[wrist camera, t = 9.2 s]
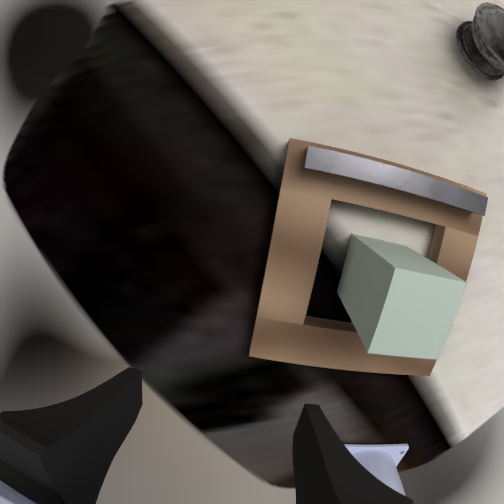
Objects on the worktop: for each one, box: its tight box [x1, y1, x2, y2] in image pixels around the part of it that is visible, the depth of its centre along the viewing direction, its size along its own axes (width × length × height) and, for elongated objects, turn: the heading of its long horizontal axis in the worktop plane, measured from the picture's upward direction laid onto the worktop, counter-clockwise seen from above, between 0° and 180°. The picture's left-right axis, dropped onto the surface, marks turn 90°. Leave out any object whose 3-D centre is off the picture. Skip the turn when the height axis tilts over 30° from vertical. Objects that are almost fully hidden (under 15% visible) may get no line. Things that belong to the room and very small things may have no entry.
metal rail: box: [302, 146, 488, 216], centre depth 17 cm, size 1×12×2 cm, turn 80°
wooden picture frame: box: [249, 138, 486, 376], centre depth 19 cm, size 14×14×2 cm
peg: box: [337, 234, 467, 359], centre depth 16 cm, size 4×4×8 cm
